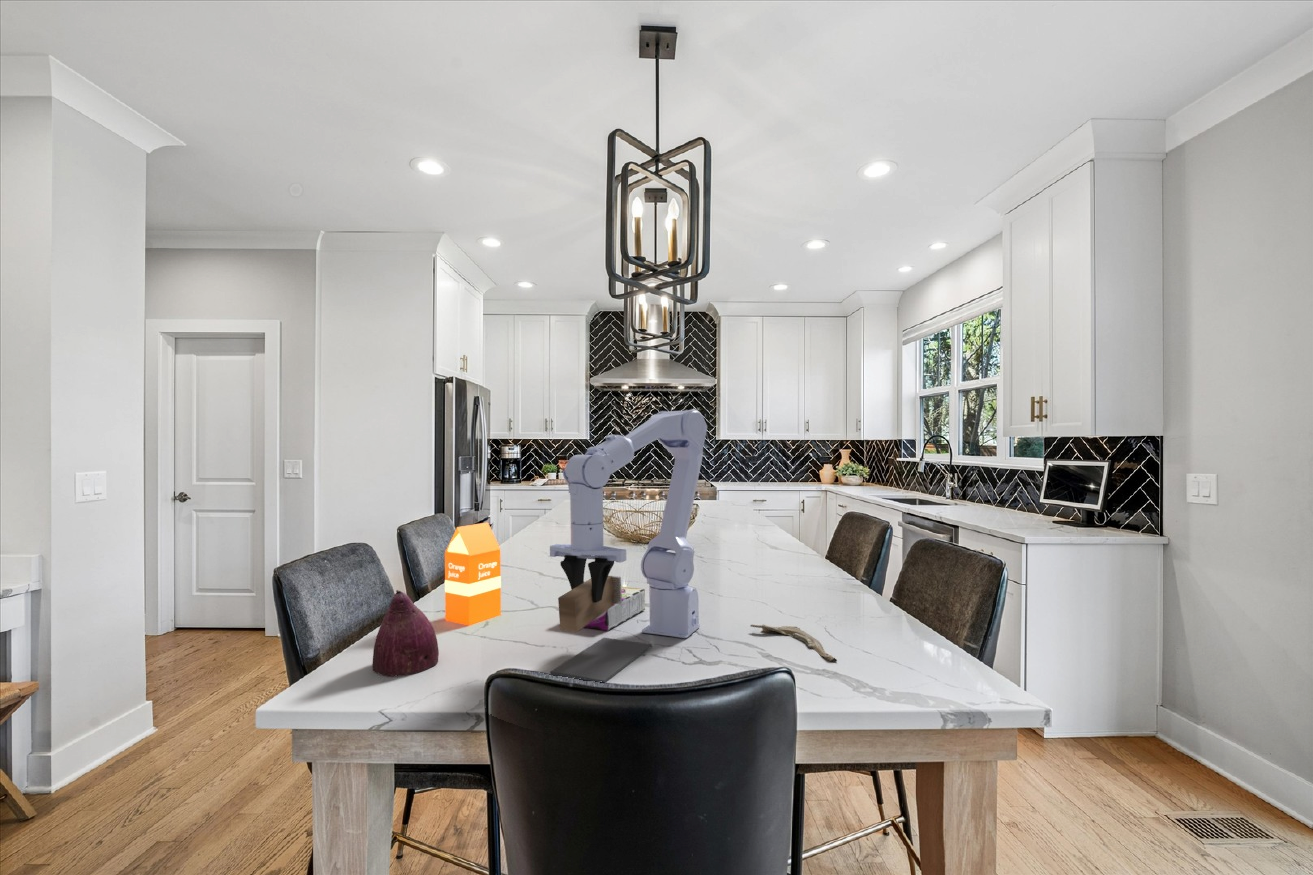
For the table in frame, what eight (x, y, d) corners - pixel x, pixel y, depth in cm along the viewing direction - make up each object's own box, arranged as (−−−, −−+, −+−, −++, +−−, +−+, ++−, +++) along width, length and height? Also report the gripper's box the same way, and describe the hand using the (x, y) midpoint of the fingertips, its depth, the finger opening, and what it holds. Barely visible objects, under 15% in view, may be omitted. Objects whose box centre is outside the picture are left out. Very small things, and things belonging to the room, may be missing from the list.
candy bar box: (561, 600, 124) (602, 583, 138) (561, 624, 123) (602, 605, 138) (608, 606, 119) (645, 588, 134) (608, 631, 119) (645, 610, 133)
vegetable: (416, 696, 97) (412, 614, 93) (359, 683, 99) (353, 603, 95) (451, 658, 107) (449, 582, 103) (399, 647, 109) (395, 572, 105)
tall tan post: (583, 633, 99) (581, 600, 98) (553, 628, 101) (551, 596, 101) (622, 604, 111) (620, 575, 110) (594, 601, 113) (592, 573, 113)
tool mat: (651, 646, 110) (651, 644, 110) (604, 683, 94) (604, 680, 94) (603, 639, 114) (603, 637, 114) (550, 673, 98) (550, 671, 98)
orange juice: (444, 620, 127) (443, 526, 128) (477, 609, 135) (476, 521, 135) (469, 625, 123) (469, 528, 123) (501, 615, 131) (501, 523, 131)
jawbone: (781, 628, 123) (781, 618, 123) (867, 659, 106) (867, 647, 106) (749, 633, 118) (749, 623, 118) (834, 666, 101) (834, 654, 101)
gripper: (539, 523, 105) (540, 601, 105) (612, 527, 99) (613, 610, 99) (561, 518, 111) (562, 591, 111) (631, 522, 105) (632, 599, 105)
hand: (587, 599), depth 106 cm, fingers closed on tall tan post, 3 cm apart
